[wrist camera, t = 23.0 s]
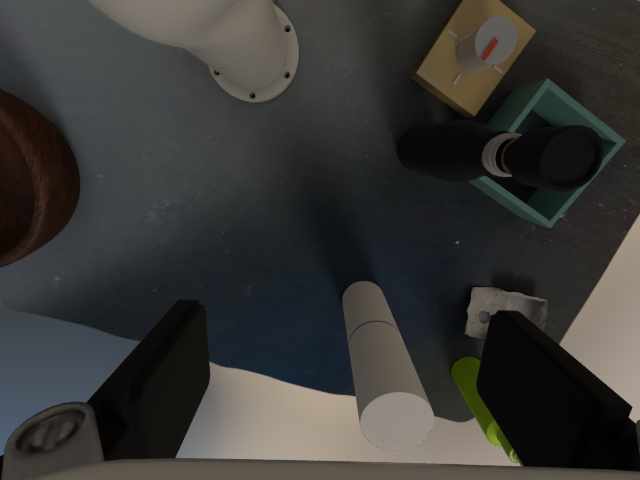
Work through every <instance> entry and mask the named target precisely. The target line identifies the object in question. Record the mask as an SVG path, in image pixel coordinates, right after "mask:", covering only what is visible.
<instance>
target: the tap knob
mask: <svg viewBox="0 0 640 480" xmlns="http://www.w3.org/2000/svg"><path fill="white" fill-rule="evenodd" d="M516 42H517V30H516V27H515V25H514V23H513V22H512V21H511V20H510V19H508V18H506V17H503V16H495V17H492V18H489V19H488V20H486V21H485V22H483V23H482V24H481V25H479V26H478V27H477V28H475V29H474V30H473V31H471V32H470V33H468V34H467V35H466V36H465V37H464V38H463V39H462V40H461V42H460V44H459V46H458V49H457V60H458V63H459V65H460V66H461V68H462V69H463V70H465V71H467V72H470V73H476V72H480V71H482V70H484V69H486V68H489V67H491V66H493V65H495V64H498V63H500V62H502V61H504V60H505V59H507V58H508V57H509V56H510V54H511V53H512V52H513V50H514V48H515V45H516Z"/></svg>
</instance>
